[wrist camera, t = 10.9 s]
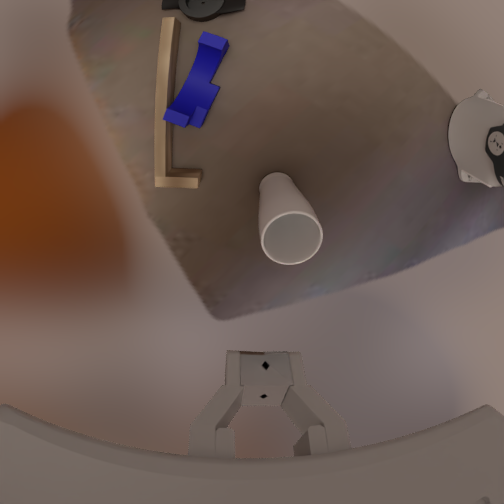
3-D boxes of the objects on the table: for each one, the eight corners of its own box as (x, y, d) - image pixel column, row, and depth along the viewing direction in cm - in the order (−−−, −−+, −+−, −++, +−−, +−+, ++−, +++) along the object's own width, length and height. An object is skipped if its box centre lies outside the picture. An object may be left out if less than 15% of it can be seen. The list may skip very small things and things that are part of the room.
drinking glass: (306, 194, 42) (333, 248, 30) (268, 215, 44) (279, 275, 32) (285, 158, 39) (307, 198, 27) (245, 180, 41) (247, 230, 28)
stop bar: (213, 22, 27) (211, 16, 24) (201, 178, 40) (197, 188, 37) (170, 23, 27) (162, 17, 24) (162, 177, 40) (155, 186, 37)
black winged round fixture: (196, -29, 22) (193, -36, 20) (251, 5, 26) (252, -1, 24) (158, 8, 25) (153, 3, 23) (212, 41, 29) (210, 38, 27)
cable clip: (202, 124, 36) (196, 131, 31) (173, 113, 35) (162, 119, 30) (239, 50, 30) (239, 44, 25) (209, 38, 29) (203, 31, 24)
